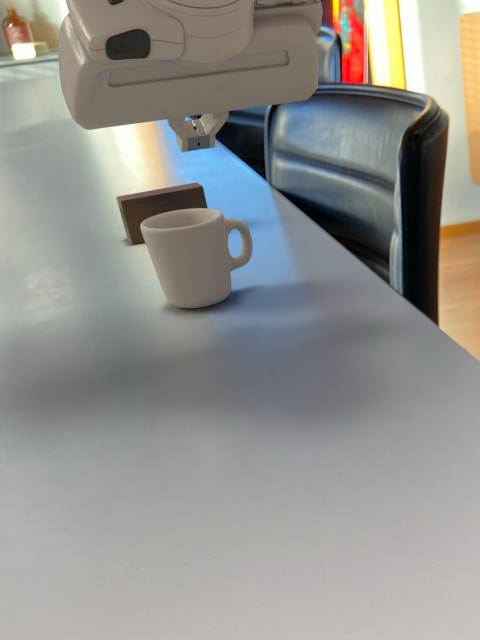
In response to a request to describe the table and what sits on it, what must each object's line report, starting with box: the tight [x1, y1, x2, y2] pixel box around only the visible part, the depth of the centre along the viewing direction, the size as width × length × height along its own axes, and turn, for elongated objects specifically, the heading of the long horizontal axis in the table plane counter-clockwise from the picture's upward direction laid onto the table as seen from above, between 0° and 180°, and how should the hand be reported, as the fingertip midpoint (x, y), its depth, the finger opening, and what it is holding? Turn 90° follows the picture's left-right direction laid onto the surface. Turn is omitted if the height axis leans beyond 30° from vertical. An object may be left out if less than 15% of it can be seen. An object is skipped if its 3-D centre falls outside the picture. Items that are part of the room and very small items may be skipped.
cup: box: [140, 208, 254, 309], centre depth 101 cm, size 11×8×8 cm
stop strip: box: [115, 181, 209, 245], centre depth 125 cm, size 10×3×5 cm, turn 117°
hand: (195, 144), depth 88 cm, fingers closed
